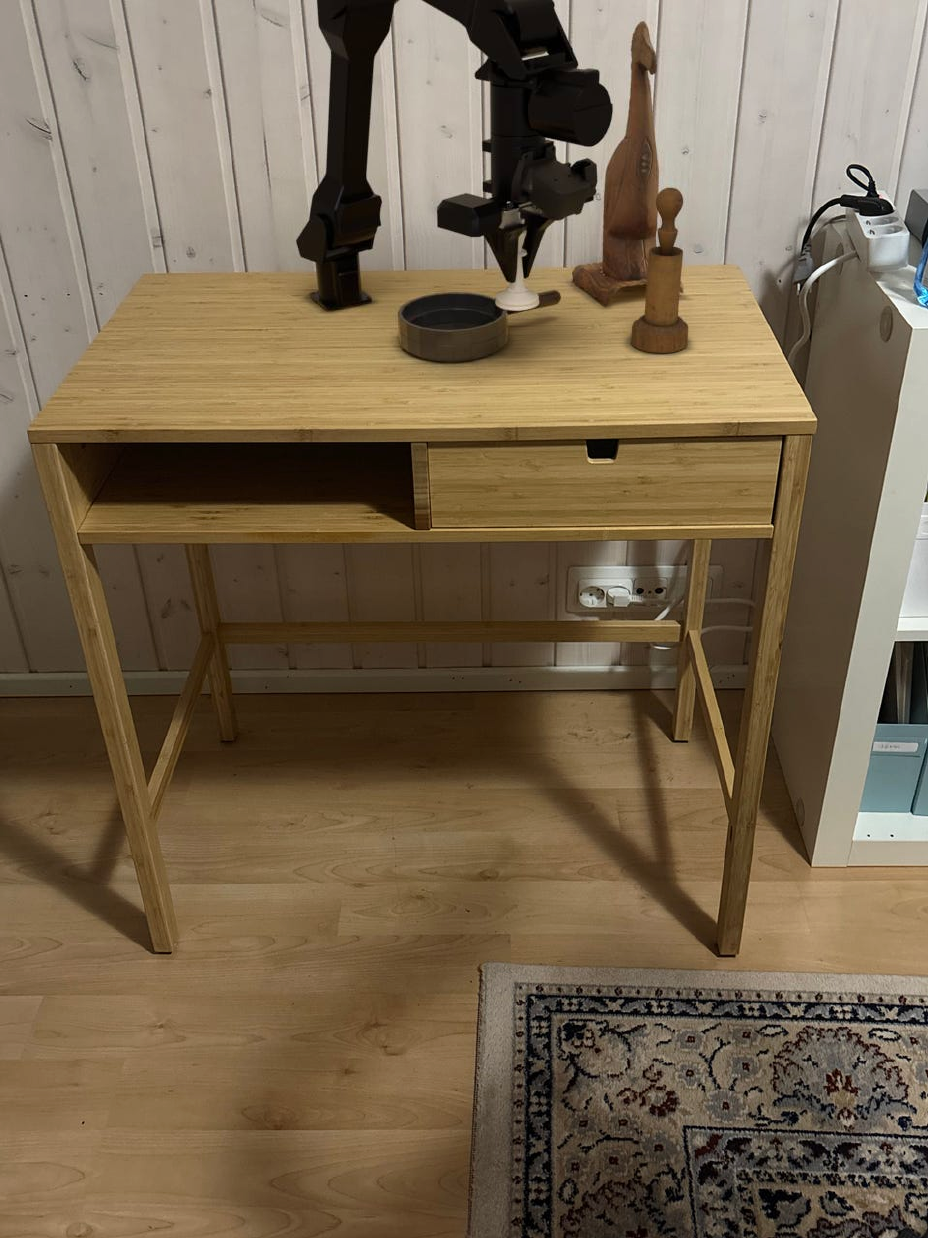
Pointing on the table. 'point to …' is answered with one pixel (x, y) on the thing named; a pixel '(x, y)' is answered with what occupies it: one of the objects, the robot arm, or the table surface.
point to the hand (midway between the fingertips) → (517, 279)
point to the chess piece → (518, 285)
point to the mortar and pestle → (663, 285)
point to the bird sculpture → (629, 188)
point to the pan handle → (544, 301)
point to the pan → (452, 326)
